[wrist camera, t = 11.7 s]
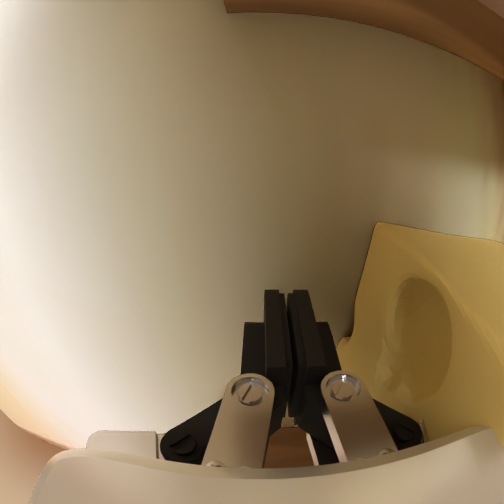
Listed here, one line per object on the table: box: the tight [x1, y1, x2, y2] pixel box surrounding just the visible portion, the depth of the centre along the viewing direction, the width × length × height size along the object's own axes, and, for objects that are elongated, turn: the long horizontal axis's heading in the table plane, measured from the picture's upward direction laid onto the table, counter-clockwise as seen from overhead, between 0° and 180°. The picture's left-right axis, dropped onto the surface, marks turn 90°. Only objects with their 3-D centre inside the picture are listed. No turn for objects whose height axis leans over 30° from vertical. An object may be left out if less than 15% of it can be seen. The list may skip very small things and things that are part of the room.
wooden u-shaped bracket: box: [224, 0, 504, 469], centre depth 10 cm, size 26×17×5 cm, turn 0°
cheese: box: [336, 222, 504, 448], centre depth 8 cm, size 10×11×10 cm
